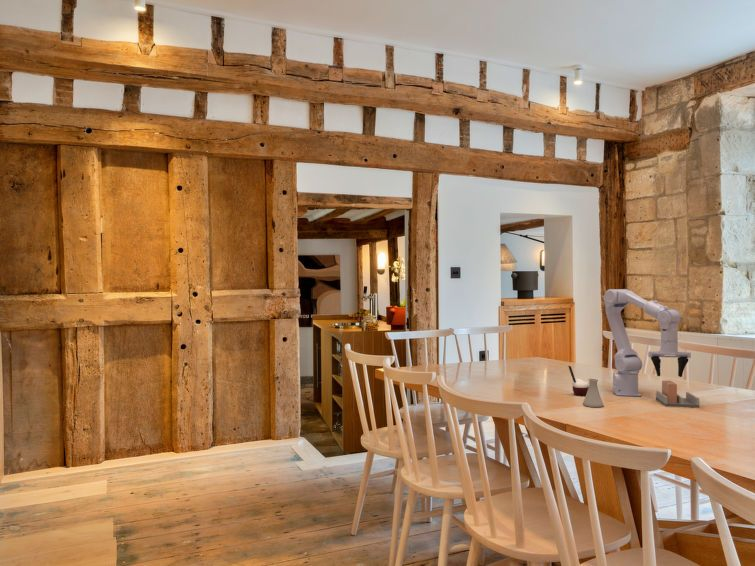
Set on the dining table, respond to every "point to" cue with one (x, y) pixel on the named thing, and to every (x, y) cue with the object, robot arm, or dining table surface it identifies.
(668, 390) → the terracotta tile
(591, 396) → the flask
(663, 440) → the dining table surface
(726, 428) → the dining table surface
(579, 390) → the cocoa
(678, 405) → the dish rack
